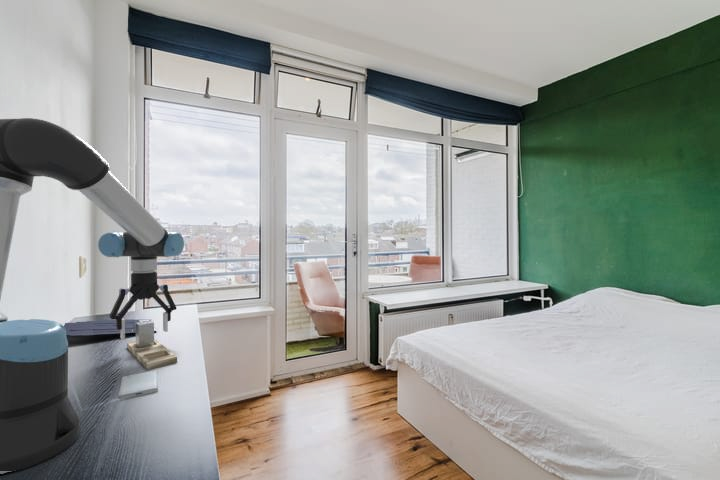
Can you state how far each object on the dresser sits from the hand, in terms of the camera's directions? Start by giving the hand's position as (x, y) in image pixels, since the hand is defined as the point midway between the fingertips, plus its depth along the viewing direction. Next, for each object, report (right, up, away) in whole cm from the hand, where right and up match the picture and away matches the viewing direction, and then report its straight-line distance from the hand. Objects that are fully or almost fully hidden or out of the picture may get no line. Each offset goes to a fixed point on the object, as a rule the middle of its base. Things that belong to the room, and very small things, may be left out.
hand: (144, 334), depth 114 cm
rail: (+5, -6, -5) cm, 9 cm away
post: (0, -5, 0) cm, 5 cm away
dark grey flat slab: (-28, -5, +21) cm, 35 cm away
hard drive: (+15, -7, -26) cm, 31 cm away
